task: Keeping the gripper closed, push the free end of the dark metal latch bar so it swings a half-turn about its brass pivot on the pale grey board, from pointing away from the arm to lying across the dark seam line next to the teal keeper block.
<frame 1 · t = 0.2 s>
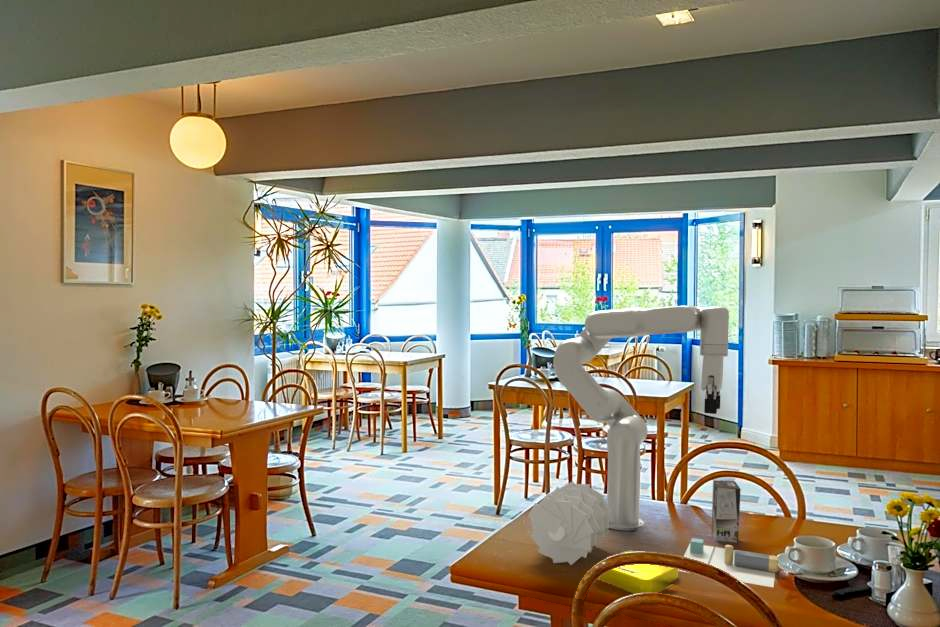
hand: (712, 410, 209), 36 cm above the table, tool pointing down, fingers open, 9 cm apart
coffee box: (724, 541, 208), on the table
latch board: (728, 568, 187), on the table
latch bar: (756, 560, 184), point 3 cm above the table, hinge at 0.0°
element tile: (637, 582, 178), on the table
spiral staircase: (569, 554, 195), on the table
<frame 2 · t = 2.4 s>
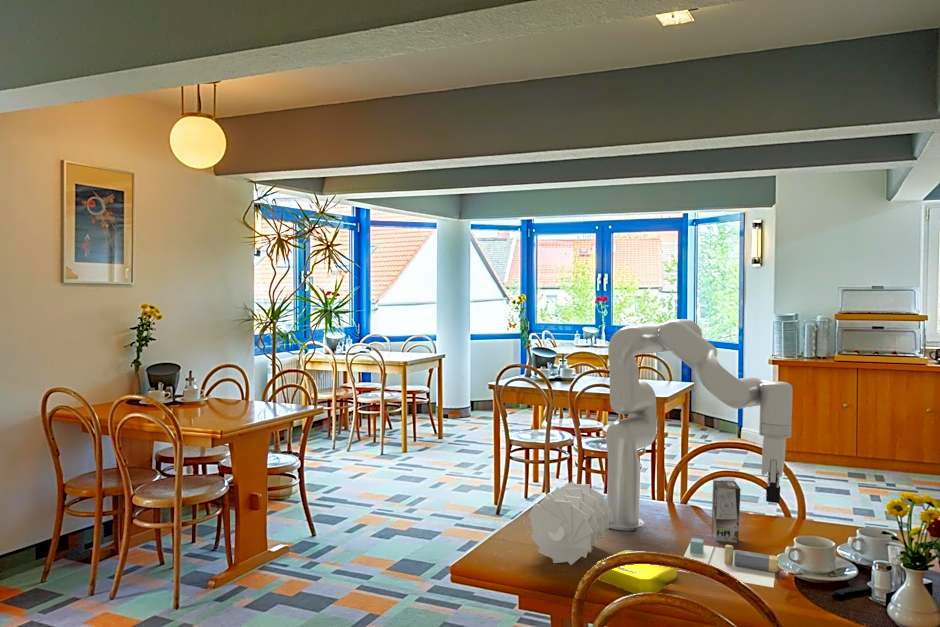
hand: (772, 501, 188), 17 cm above the table, tool pointing down, fingers closed
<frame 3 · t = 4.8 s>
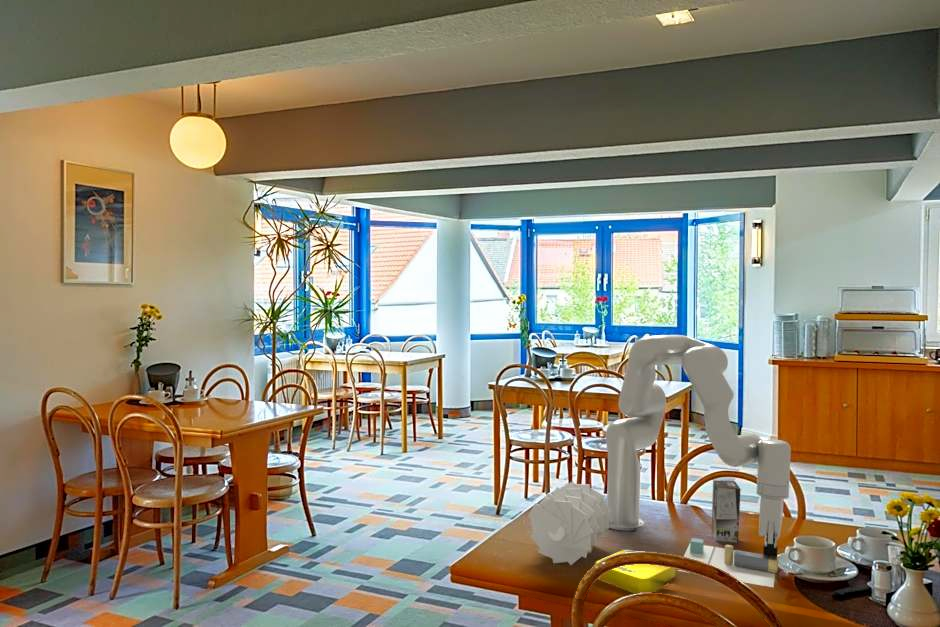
hand: (769, 561, 186), 2 cm above the table, tool pointing down, fingers closed
latch bar: (756, 561, 184), point 3 cm above the table, hinge at 2.8°, touching gripper
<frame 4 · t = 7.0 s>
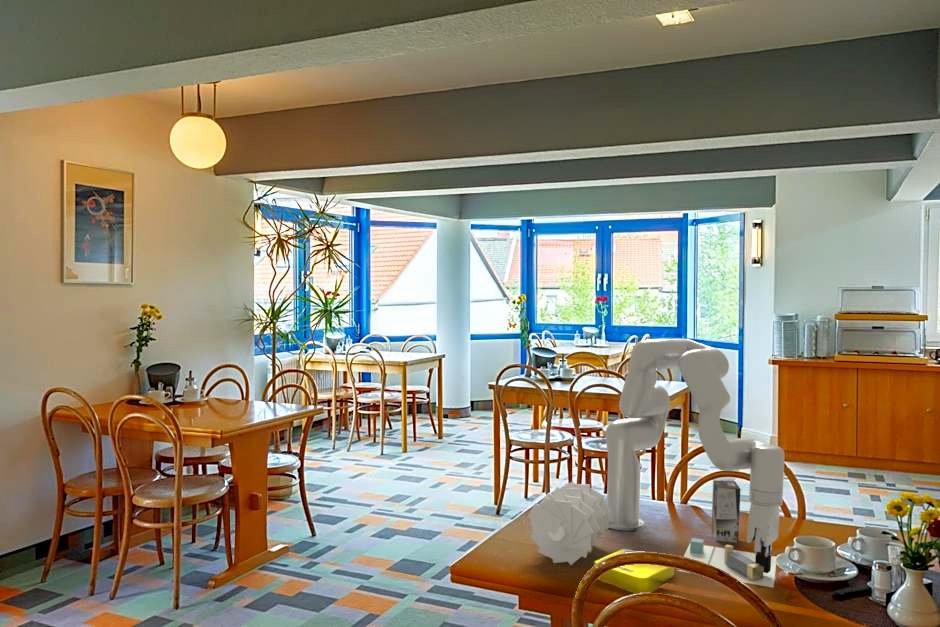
hand: (762, 570, 180), 2 cm above the table, tool pointing down, fingers closed
latch bar: (744, 565, 181), point 3 cm above the table, hinge at 50.0°, touching gripper
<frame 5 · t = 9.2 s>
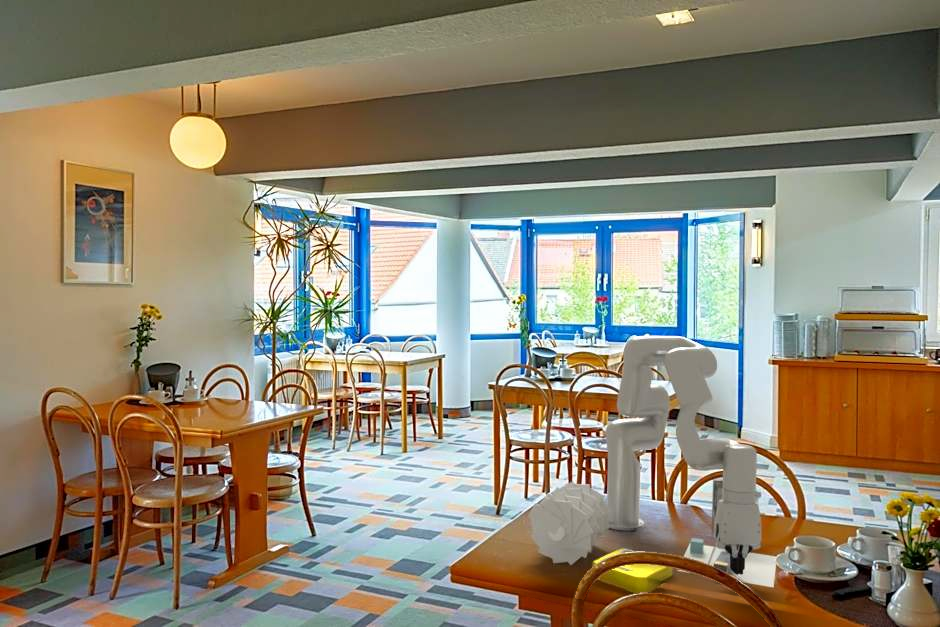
hand: (737, 572, 177), 3 cm above the table, tool pointing down, fingers closed
latch bar: (723, 564, 181), point 3 cm above the table, hinge at 94.8°, touching gripper
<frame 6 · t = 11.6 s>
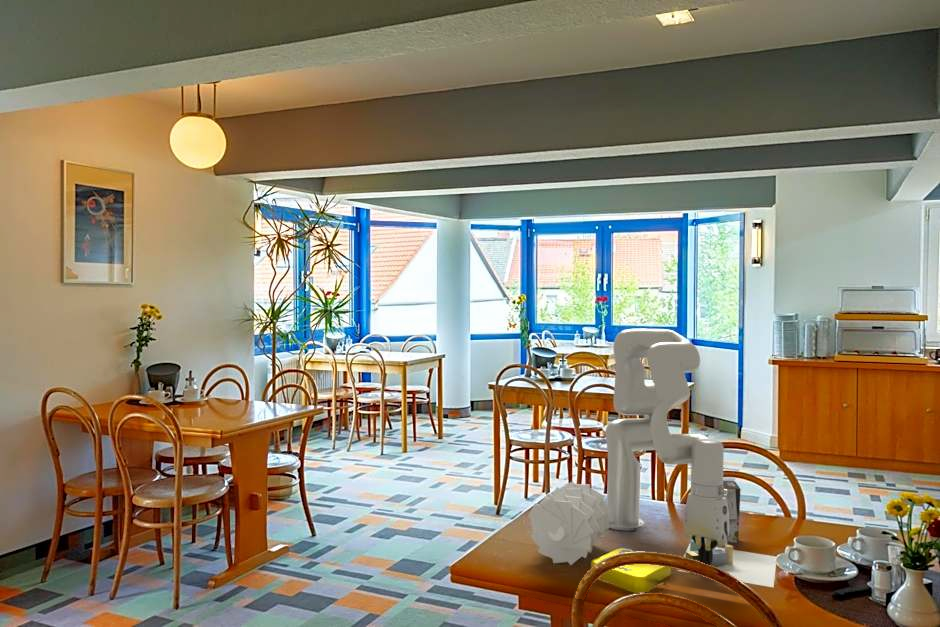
hand: (705, 564, 181), 3 cm above the table, tool pointing down, fingers closed
latch bar: (706, 558, 185), point 3 cm above the table, hinge at 140.0°, touching gripper
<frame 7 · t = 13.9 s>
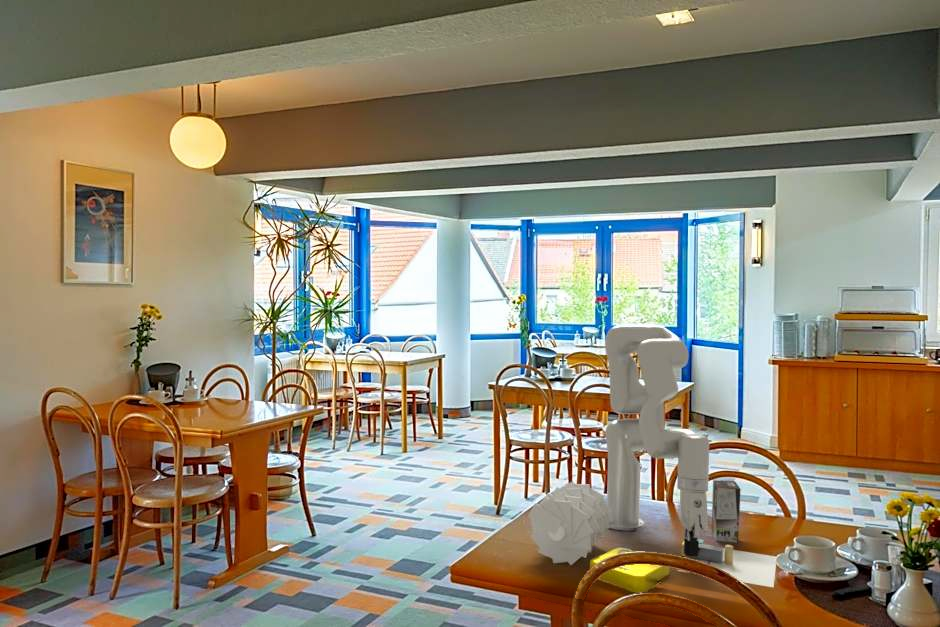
hand: (691, 555, 188), 3 cm above the table, tool pointing down, fingers closed
latch bar: (702, 551, 190), point 3 cm above the table, hinge at 182.6°, touching gripper
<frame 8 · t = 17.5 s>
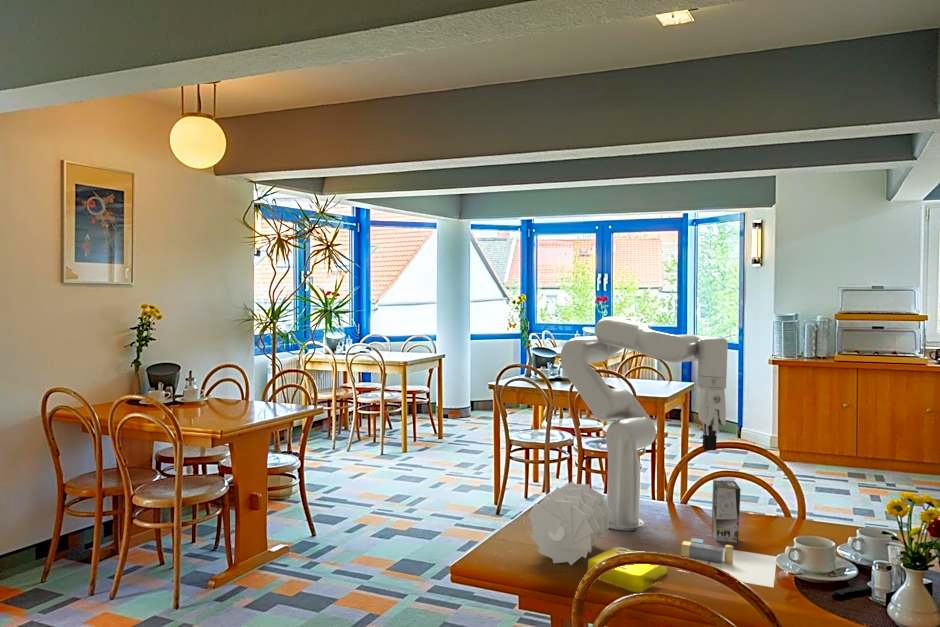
hand: (709, 449, 201), 27 cm above the table, tool pointing down, fingers closed
latch bar: (702, 551, 190), point 3 cm above the table, hinge at 182.6°
at the end: latch bar at +183° (first picture: +0°) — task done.
